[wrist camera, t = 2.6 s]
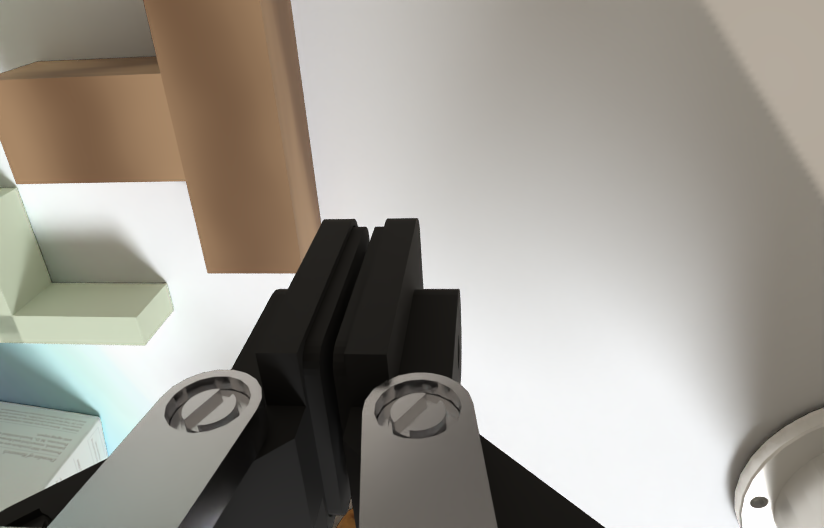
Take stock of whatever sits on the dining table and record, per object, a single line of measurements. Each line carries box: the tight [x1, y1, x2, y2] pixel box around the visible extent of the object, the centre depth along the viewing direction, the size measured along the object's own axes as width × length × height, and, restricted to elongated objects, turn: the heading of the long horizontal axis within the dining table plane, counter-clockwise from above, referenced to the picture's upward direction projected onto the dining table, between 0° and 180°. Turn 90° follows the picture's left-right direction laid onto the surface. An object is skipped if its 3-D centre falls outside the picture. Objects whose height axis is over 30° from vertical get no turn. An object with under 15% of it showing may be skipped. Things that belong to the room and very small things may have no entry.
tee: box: [0, 0, 321, 273], centre depth 25 cm, size 11×12×4 cm
